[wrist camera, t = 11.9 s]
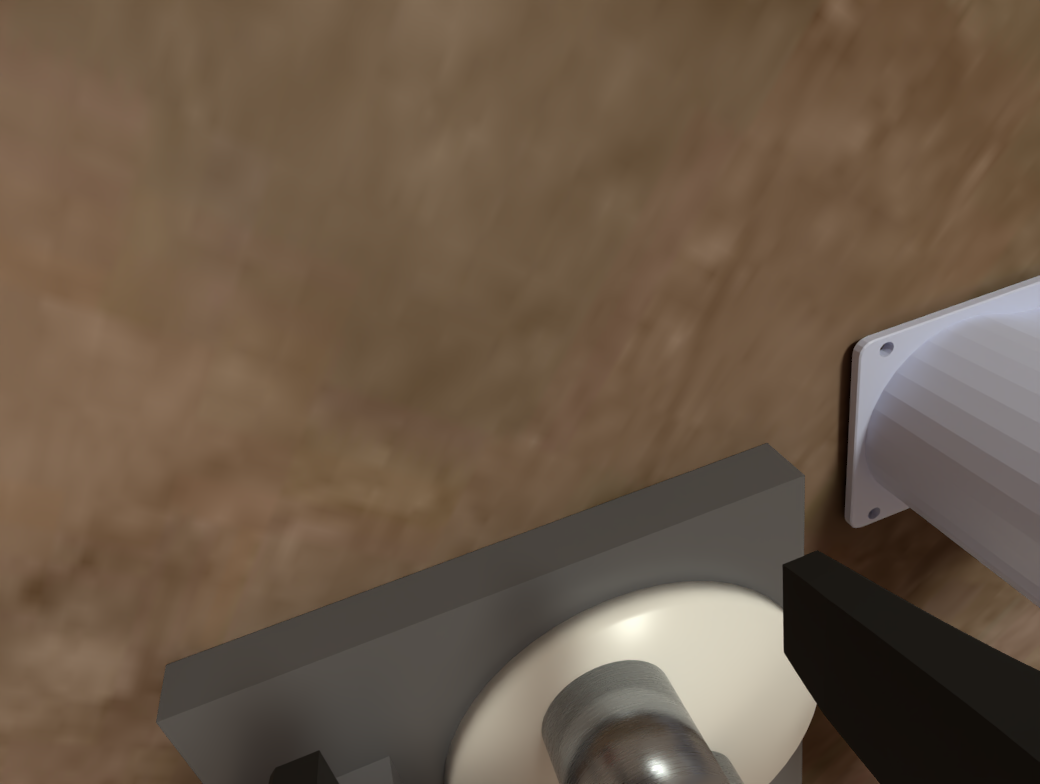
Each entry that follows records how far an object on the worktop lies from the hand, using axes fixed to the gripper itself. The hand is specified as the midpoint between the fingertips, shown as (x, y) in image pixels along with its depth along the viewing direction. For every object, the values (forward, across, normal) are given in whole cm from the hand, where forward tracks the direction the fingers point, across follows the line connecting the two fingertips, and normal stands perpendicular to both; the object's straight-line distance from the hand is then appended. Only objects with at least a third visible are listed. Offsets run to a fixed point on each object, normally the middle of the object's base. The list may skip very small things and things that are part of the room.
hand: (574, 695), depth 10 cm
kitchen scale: (+10, 0, +15) cm, 18 cm away
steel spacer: (+7, -2, +12) cm, 14 cm away
